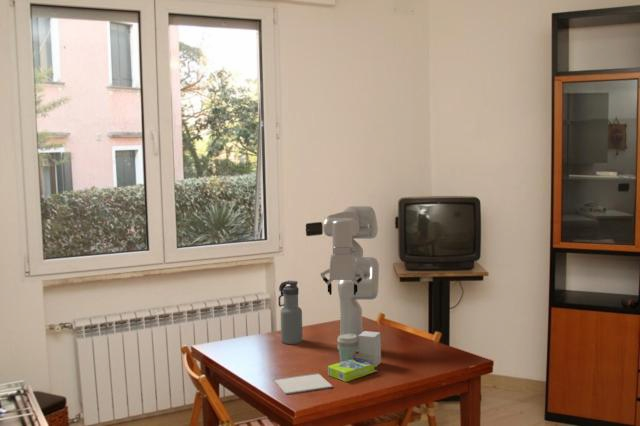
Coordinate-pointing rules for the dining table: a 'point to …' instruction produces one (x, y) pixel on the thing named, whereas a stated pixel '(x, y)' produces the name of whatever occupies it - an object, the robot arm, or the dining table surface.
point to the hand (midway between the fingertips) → (342, 294)
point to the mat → (302, 383)
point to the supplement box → (370, 347)
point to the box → (351, 369)
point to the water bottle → (290, 313)
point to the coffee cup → (347, 346)
